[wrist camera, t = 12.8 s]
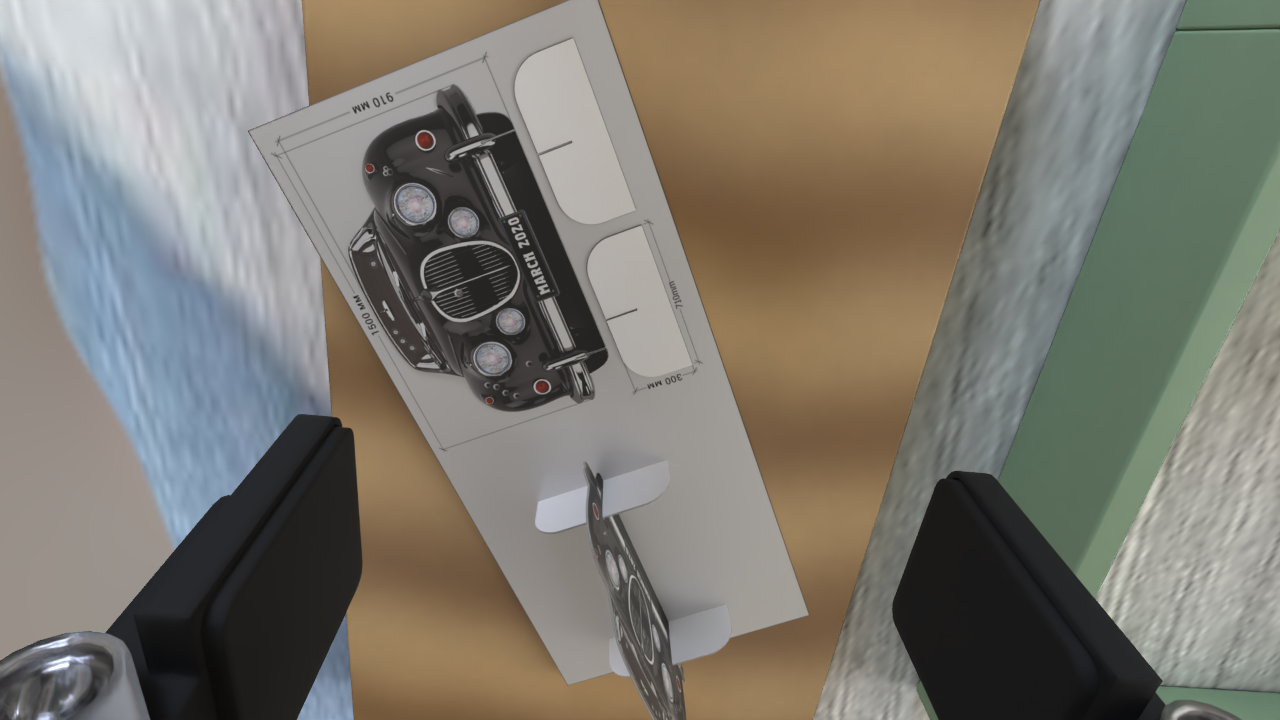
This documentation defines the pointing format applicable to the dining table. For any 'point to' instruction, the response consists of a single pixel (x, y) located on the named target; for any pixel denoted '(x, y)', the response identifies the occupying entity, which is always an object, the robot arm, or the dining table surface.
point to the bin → (1157, 298)
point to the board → (735, 306)
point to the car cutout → (549, 340)
